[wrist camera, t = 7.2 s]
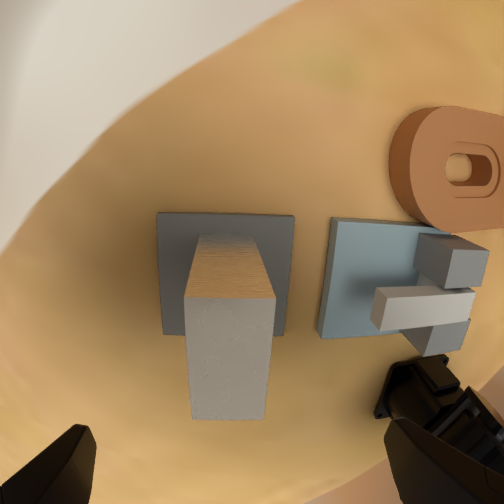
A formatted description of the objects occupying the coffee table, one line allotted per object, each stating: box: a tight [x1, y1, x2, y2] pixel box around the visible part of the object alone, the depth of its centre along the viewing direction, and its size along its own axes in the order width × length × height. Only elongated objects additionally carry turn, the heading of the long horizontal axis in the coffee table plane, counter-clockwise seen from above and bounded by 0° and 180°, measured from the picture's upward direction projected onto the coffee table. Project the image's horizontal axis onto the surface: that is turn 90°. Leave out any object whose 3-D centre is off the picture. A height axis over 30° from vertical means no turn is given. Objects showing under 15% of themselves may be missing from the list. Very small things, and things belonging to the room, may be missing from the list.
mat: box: [157, 212, 295, 336], centre depth 20 cm, size 8×8×1 cm
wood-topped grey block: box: [184, 233, 276, 420], centre depth 15 cm, size 6×3×9 cm, turn 177°
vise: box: [317, 217, 489, 357], centre depth 18 cm, size 8×10×5 cm
